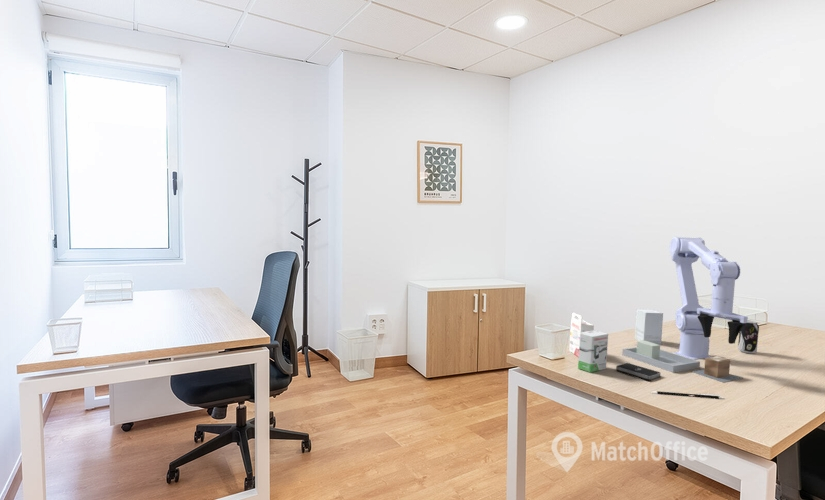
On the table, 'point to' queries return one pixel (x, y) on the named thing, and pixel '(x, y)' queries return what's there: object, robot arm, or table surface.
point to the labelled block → (717, 367)
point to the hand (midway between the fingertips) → (719, 340)
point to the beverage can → (749, 337)
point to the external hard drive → (637, 371)
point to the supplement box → (649, 326)
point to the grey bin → (664, 360)
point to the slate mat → (721, 379)
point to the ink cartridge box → (577, 332)
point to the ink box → (593, 351)
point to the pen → (689, 395)
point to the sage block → (648, 349)
